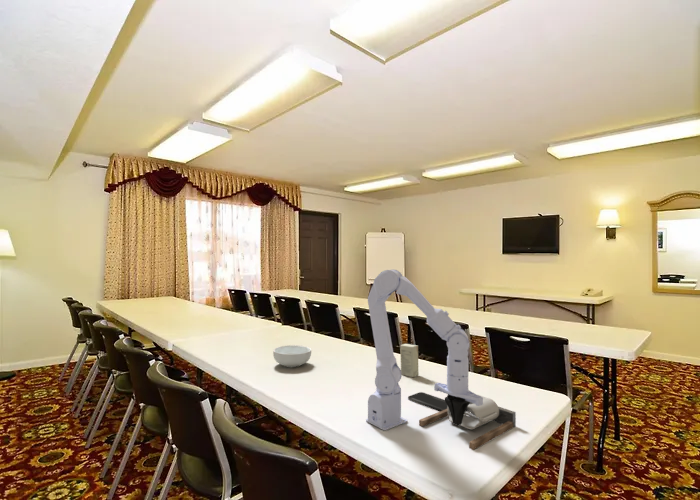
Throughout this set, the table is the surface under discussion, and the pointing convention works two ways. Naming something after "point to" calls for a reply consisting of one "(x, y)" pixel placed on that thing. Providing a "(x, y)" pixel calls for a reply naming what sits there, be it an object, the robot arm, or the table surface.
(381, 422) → the robot arm
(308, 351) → the cereal bowl
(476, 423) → the cable organizer
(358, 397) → the table surface
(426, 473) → the table surface
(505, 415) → the rail channel
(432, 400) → the phone
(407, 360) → the skincare box
